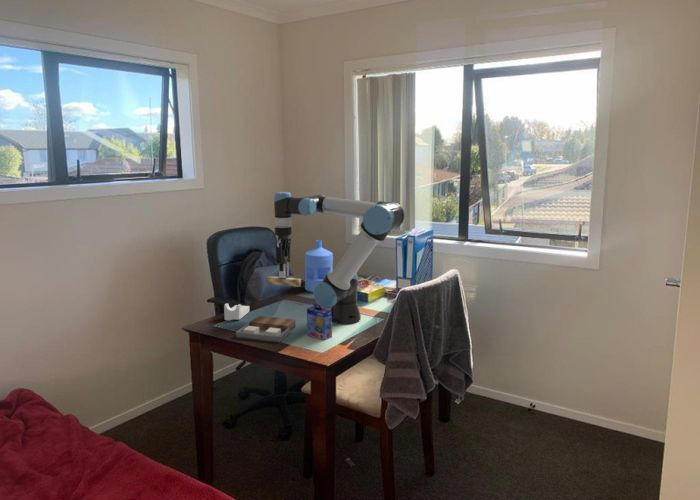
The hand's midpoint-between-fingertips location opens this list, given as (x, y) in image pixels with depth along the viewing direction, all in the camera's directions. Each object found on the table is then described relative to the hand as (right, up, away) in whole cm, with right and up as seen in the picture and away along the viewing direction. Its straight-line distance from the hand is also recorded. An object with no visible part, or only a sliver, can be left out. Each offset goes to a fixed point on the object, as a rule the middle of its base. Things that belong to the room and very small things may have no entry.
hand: (283, 276), depth 247 cm
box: (-7, -24, -18) cm, 31 cm away
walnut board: (-4, -22, -9) cm, 24 cm away
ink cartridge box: (+17, -25, -18) cm, 35 cm away
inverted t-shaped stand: (0, -4, +1) cm, 4 cm away
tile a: (-2, -24, -20) cm, 31 cm away
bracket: (-23, -20, +7) cm, 31 cm away
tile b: (-12, -24, -18) cm, 32 cm away
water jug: (+13, -10, +55) cm, 57 cm away
